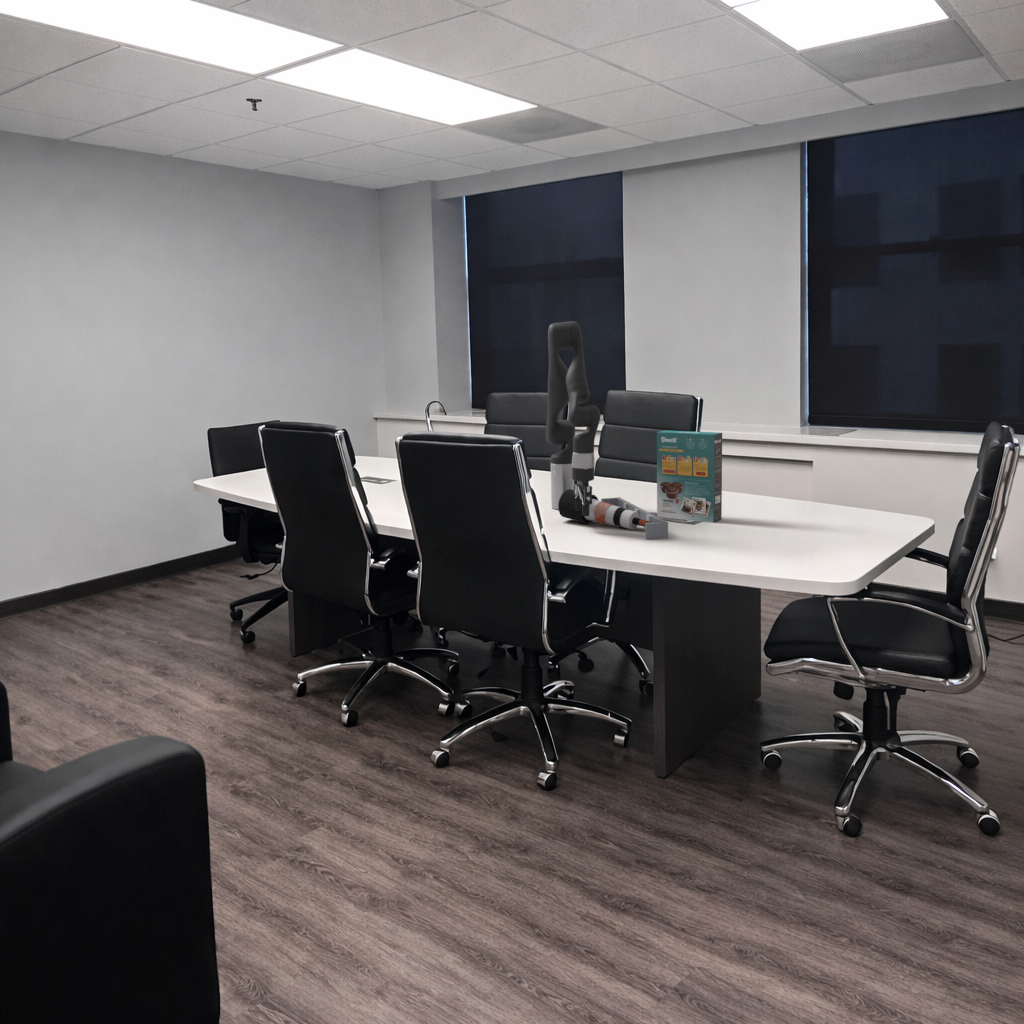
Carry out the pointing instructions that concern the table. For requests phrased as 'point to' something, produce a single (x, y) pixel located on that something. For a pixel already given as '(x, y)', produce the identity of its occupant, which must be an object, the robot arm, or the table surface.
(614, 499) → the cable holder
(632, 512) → the cable
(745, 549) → the table surface
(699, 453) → the cake mix box
